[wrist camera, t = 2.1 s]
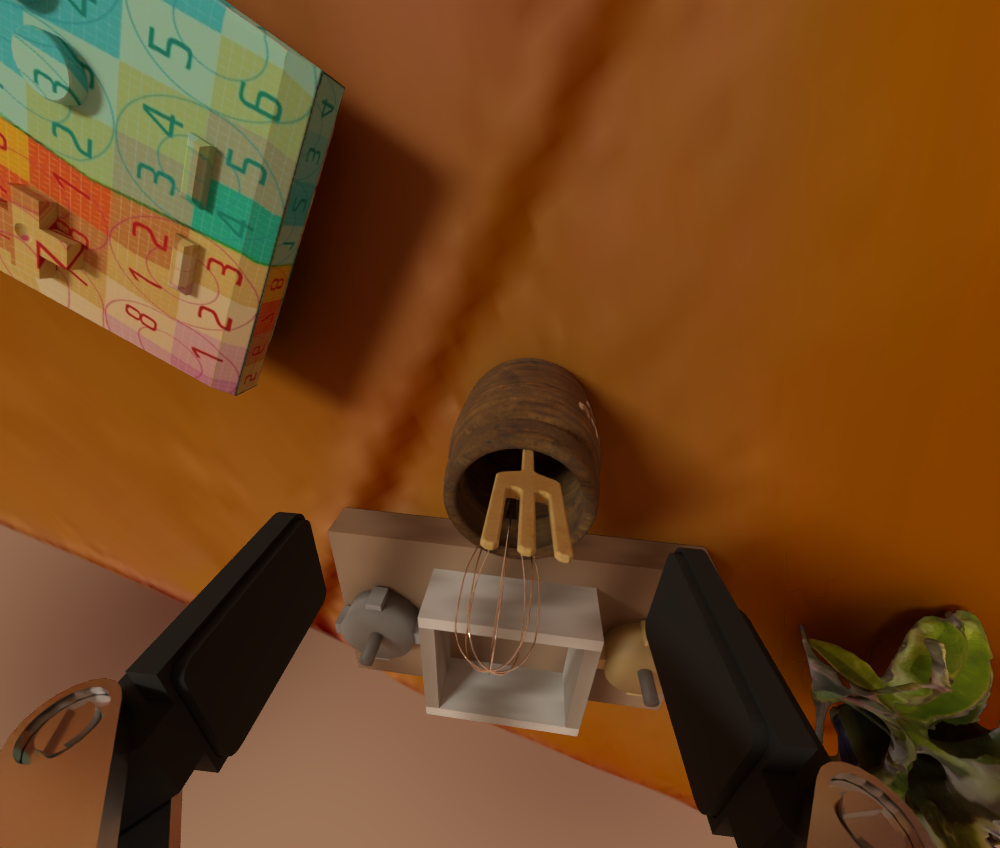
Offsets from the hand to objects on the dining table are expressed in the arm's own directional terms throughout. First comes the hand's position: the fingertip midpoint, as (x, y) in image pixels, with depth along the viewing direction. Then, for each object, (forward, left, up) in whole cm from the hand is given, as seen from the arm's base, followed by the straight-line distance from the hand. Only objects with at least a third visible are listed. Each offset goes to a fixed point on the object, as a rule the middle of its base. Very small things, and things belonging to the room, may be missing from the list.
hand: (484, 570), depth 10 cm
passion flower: (-22, +15, -10) cm, 28 cm away
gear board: (-1, +14, -10) cm, 17 cm away
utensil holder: (-1, 0, -10) cm, 10 cm away
